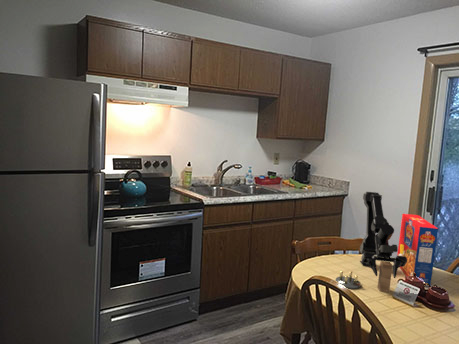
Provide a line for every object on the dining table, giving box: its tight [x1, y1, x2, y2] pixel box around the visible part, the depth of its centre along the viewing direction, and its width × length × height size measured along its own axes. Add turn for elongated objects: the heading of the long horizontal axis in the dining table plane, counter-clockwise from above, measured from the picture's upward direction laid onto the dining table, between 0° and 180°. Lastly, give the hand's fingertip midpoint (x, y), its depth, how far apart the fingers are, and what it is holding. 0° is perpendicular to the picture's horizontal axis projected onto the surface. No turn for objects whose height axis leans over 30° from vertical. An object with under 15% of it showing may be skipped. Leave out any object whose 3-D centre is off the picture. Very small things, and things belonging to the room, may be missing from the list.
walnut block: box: [377, 261, 393, 293], centre depth 166 cm, size 4×4×12 cm
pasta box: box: [396, 213, 439, 286], centre depth 187 cm, size 28×8×28 cm, turn 170°
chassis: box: [335, 270, 361, 290], centre depth 171 cm, size 11×11×5 cm
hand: (385, 276), depth 165 cm, fingers open, 7 cm apart
